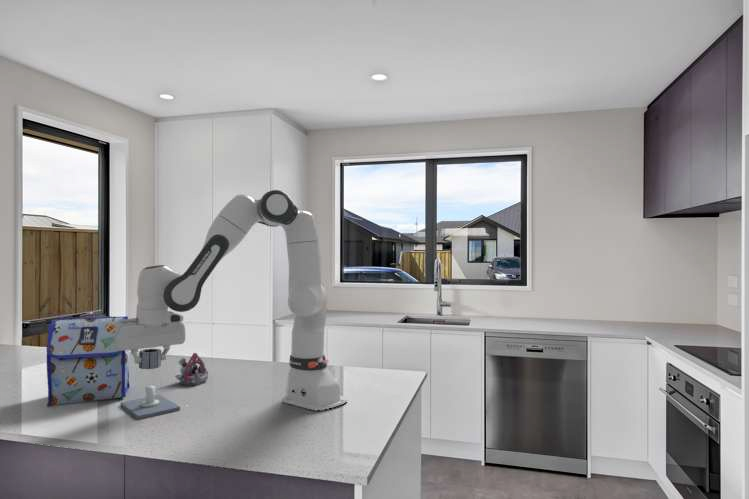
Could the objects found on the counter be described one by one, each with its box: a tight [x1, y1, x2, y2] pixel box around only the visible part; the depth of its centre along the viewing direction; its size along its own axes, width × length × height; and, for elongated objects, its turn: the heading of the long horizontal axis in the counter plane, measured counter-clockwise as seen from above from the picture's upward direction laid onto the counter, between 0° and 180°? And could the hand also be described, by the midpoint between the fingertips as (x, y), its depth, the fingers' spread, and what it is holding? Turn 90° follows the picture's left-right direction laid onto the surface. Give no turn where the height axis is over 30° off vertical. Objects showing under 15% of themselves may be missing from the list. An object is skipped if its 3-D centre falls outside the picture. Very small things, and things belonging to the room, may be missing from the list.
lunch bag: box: [46, 315, 131, 407], centre depth 150 cm, size 23×17×27 cm
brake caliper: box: [174, 352, 209, 386], centre depth 171 cm, size 11×11×12 cm
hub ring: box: [138, 348, 163, 370], centre depth 142 cm, size 6×6×5 cm
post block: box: [120, 385, 181, 420], centre depth 142 cm, size 16×12×6 cm
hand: (150, 361), depth 142 cm, fingers closed on hub ring, 6 cm apart
